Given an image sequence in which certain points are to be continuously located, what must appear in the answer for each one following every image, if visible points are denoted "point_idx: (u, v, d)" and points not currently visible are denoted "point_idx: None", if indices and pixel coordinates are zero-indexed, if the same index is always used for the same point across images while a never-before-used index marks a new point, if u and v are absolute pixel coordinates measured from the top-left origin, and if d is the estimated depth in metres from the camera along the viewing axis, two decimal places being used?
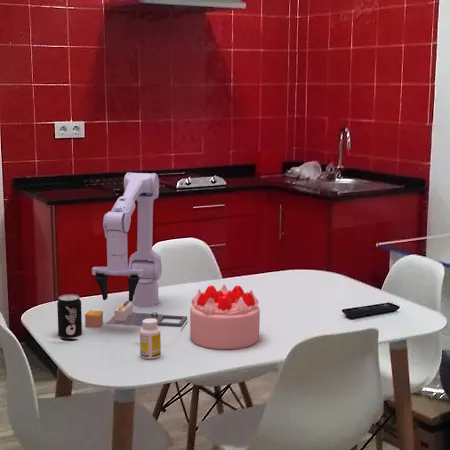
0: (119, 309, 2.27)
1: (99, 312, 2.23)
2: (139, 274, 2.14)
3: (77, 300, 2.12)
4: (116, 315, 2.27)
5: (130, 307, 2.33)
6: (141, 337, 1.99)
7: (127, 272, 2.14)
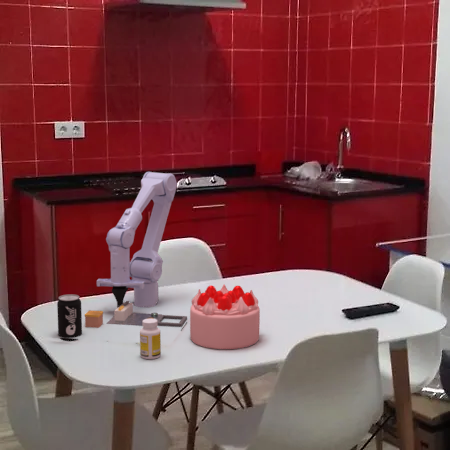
0: (119, 309, 2.27)
1: (99, 312, 2.23)
2: (140, 286, 2.31)
3: (77, 300, 2.12)
4: (116, 315, 2.27)
5: (130, 307, 2.33)
6: (141, 337, 1.99)
7: (129, 284, 2.30)
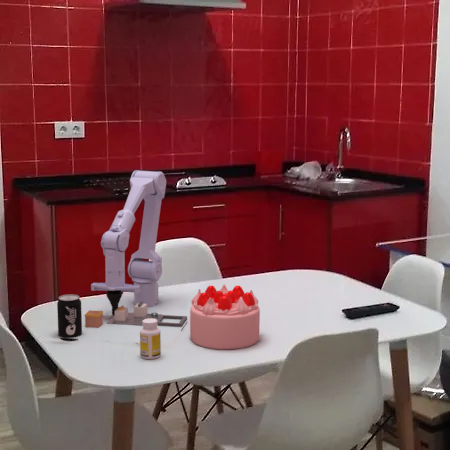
0: (119, 309, 2.27)
1: (99, 312, 2.23)
2: (135, 290, 2.26)
3: (77, 300, 2.12)
4: (116, 315, 2.27)
5: (145, 308, 2.33)
6: (141, 337, 1.99)
7: (124, 288, 2.25)
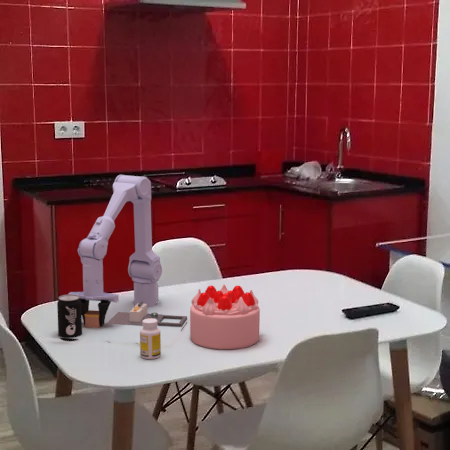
0: (134, 310, 2.27)
1: None
2: (114, 299, 2.20)
3: (77, 300, 2.12)
4: (131, 316, 2.27)
5: (145, 308, 2.33)
6: (141, 337, 1.99)
7: (102, 298, 2.19)
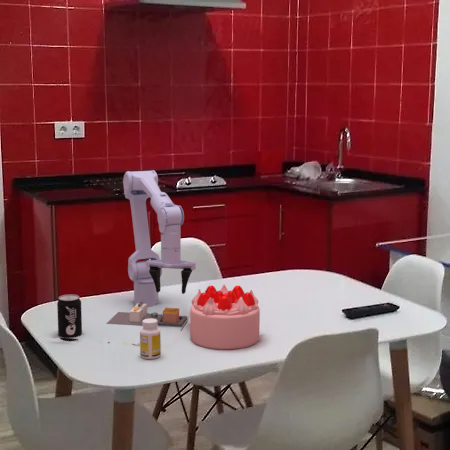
0: (134, 310, 2.27)
1: (176, 309, 2.26)
2: (192, 267, 2.21)
3: (77, 300, 2.12)
4: (131, 316, 2.27)
5: (145, 308, 2.33)
6: (141, 337, 1.99)
7: (180, 265, 2.21)
